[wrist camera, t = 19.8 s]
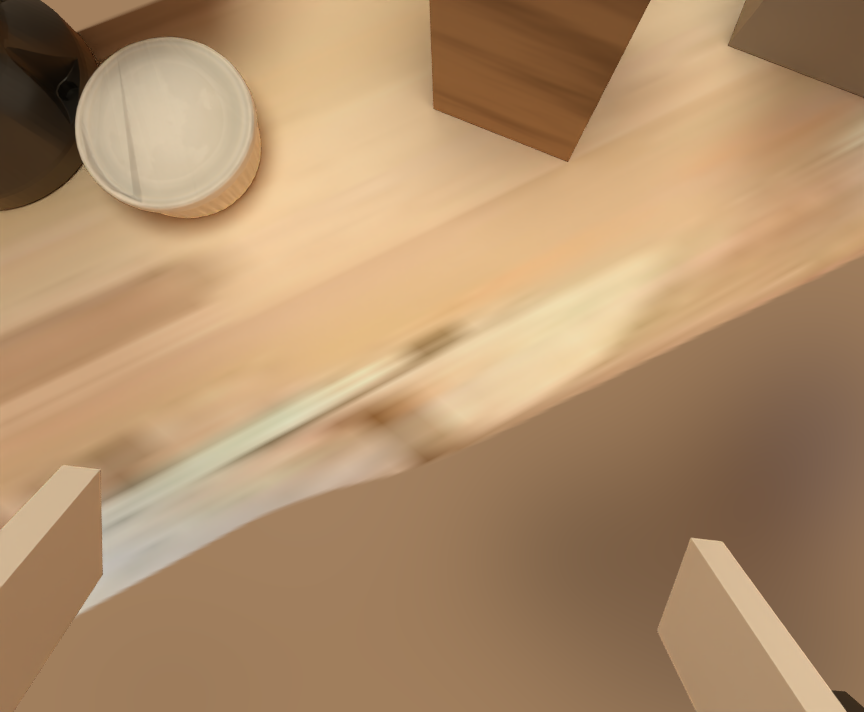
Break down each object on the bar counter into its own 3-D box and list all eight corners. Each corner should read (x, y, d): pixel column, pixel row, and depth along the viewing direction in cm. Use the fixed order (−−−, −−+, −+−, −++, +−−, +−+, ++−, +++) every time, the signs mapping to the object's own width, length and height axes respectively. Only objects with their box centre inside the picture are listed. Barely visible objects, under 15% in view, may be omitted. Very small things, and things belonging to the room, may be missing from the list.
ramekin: (83, 150, 45) (35, 117, 40) (202, 44, 46) (170, -2, 40) (187, 265, 45) (153, 246, 39) (307, 156, 45) (289, 124, 40)
